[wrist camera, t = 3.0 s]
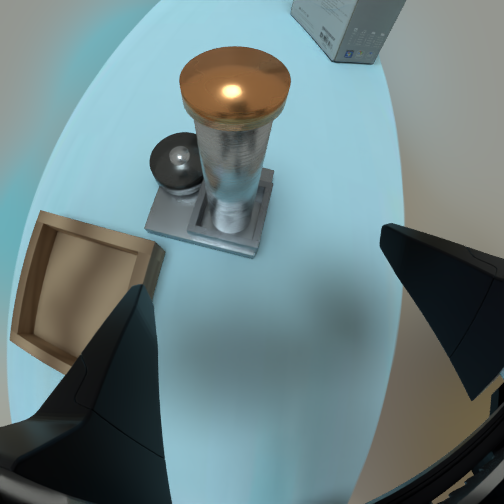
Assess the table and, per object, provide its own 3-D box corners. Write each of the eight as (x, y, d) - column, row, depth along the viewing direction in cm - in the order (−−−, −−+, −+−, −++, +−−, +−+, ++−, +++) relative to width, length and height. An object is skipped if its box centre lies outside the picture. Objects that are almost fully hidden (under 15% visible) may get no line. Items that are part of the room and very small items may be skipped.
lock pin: (259, 198, 22) (297, 57, 8) (248, 242, 21) (280, 123, 7) (214, 187, 22) (201, 41, 8) (201, 230, 21) (161, 103, 7)
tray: (165, 251, 22) (155, 241, 18) (133, 389, 19) (118, 400, 16) (58, 221, 21) (40, 210, 18) (30, 339, 19) (9, 340, 15)
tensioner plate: (274, 170, 24) (281, 149, 20) (253, 259, 22) (258, 248, 18) (169, 148, 24) (162, 125, 20) (138, 229, 22) (123, 215, 18)
